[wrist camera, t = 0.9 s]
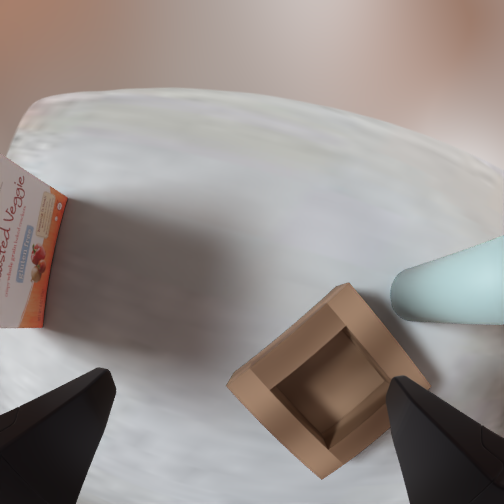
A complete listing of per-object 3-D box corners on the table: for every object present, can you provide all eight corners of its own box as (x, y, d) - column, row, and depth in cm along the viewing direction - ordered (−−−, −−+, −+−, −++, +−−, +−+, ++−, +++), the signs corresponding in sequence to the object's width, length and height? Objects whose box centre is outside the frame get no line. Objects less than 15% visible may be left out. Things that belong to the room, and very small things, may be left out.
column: (441, 295, 21) (545, 279, 9) (410, 332, 21) (514, 343, 9) (413, 257, 22) (511, 215, 10) (380, 293, 22) (476, 276, 10)
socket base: (408, 376, 20) (431, 386, 16) (314, 456, 20) (321, 479, 16) (335, 286, 22) (348, 282, 18) (233, 372, 21) (226, 385, 17)
